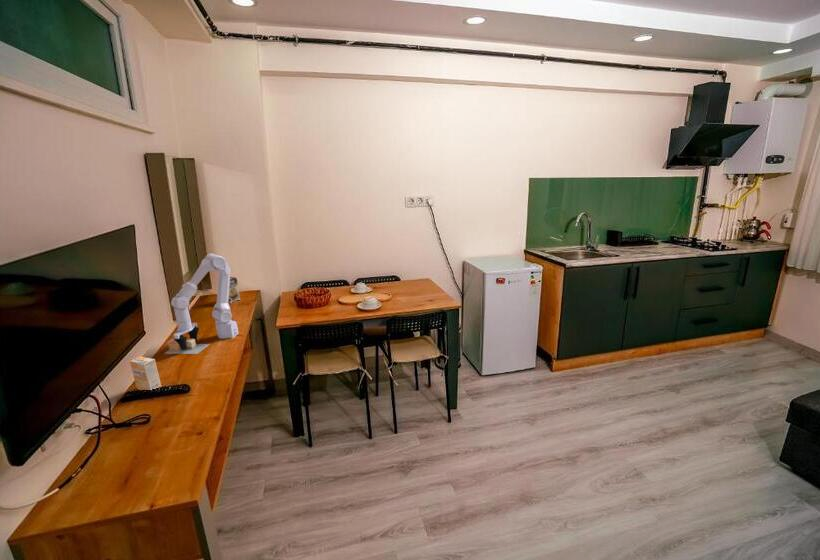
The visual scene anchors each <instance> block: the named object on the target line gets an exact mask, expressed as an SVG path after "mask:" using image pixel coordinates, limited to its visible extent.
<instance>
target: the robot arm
mask: <svg viewBox="0 0 820 560" xmlns="http://www.w3.org/2000/svg"><path fill="white" fill-rule="evenodd" d="M214 270H215V271H217V272H218V279H217V292H216V293H217V296H216V303H215V304H214V308H213V310H212V312H211V316H212V318H214V319H215V322H214V323H215V327H216V329H215V330H216V335H217V337H218V339H221V340H222V339H233V338H235V337H236V336H237V335H239V328H238V322H237V321H235V320H232V318H233V317H232V312H231V307H230V304H228V299H229V286H230V277H231V272H232V271H231V268H230V265H229V264H228V261H227V259H226V258H225V257H223V256H222V255H219V254H215V253H211V252H210V253H208V254H206V255H205V257H204V258H203V259H202V260H201V262H200V265H199V267H198V268H197V270H196V271H195V273H194V274H193V275H192V277H191V279H190V281H187V282H185V283H183V284H182V285H181V288H180V289H179V292H178V293H176V294H175V296H174V297H172V299H171V302H170V305H171V306H172V307H173V310H174V315H175V319H176V325H177V329H176V333H174V334H173V338H174V340H175V341H176V342H177V343H178V344H179V346H180V347H181V349H182V350H186V349H187V344H186V340H187V339H188V336H185V334H186V333H188V335H189V339H195V342H196V343H197V340H198V333H199V331H200V327H198V323H197V322H192V320H191V316H190V311H189V308H188V307H189V305H190V301H191V299H192V297H193V296H194V294H195V293H196V292H197V290H198V284H199V283H200V282H201V281H202V280H203V278H204V276H205V275H206V274H207V273H208V272H211V271H214Z"/></svg>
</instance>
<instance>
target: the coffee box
mask: <svg viewBox="0 0 820 560" xmlns="http://www.w3.org/2000/svg"><path fill="white" fill-rule="evenodd" d="M238 285H239V284H238V278H237V277H235V276H230V286H229V299H228V304H229V303H231V304H233V303H232V302H234V301H237V300H240V301H241V297H240V296H241V295H240V289H239V286H238ZM237 302H238V301H237ZM234 303H235V302H234ZM229 305H230V304H229Z"/></svg>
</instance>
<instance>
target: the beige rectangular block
mask: <svg viewBox="0 0 820 560" xmlns="http://www.w3.org/2000/svg"><path fill="white" fill-rule="evenodd" d="M176 344H178V343H177V342H176ZM186 344H187V349H194V348H195V347H196V344H197V342H195V339H190V338H187V340H186ZM180 349H181V347H180Z"/></svg>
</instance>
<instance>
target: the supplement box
mask: <svg viewBox="0 0 820 560" xmlns="http://www.w3.org/2000/svg"><path fill="white" fill-rule="evenodd" d="M129 364H130V367H131V371H132V375H133V378H134V381H135V382H134V383H135V385H136V386H135V387H136V389H137V390H139V391H142V390H152V389H156V388H159V387H161V388H162V383H161V379H160V375H159V371H158V368H157V367H158V366H157V363H156V359H155V358H152V357H146V356H142V355H139V356H138V357H135V358H133V359H132V360H130V361H129ZM159 389H160V388H159Z"/></svg>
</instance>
